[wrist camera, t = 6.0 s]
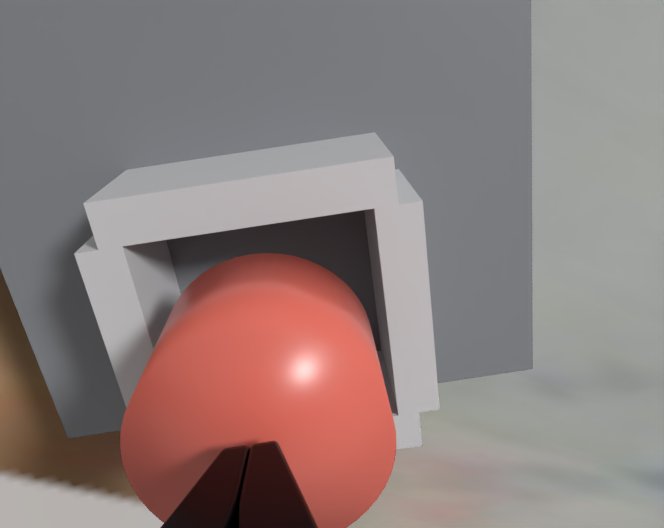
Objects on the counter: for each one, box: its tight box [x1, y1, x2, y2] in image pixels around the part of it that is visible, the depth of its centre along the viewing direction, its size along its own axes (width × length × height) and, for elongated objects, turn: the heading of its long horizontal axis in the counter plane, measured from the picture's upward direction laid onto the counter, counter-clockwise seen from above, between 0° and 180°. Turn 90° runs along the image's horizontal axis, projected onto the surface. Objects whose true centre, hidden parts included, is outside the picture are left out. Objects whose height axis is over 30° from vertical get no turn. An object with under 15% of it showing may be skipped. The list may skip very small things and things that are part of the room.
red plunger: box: [120, 253, 397, 528], centre depth 11 cm, size 4×4×3 cm
